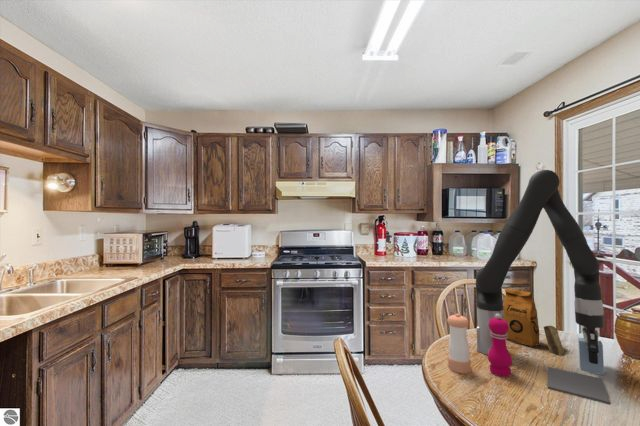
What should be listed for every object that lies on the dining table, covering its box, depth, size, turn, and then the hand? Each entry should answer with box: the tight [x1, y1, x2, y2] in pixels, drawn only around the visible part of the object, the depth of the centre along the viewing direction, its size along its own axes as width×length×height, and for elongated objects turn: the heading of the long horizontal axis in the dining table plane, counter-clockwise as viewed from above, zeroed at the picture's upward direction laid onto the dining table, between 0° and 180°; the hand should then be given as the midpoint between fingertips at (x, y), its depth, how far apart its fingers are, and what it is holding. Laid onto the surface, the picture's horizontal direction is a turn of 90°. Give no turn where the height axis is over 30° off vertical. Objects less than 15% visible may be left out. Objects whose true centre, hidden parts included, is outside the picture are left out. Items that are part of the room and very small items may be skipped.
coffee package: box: [503, 288, 540, 348], centre depth 130 cm, size 10×12×22 cm
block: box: [577, 336, 605, 376], centre depth 104 cm, size 6×4×10 cm, turn 52°
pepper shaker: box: [446, 313, 472, 374], centre depth 107 cm, size 7×7×19 cm
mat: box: [547, 366, 611, 405], centre depth 95 cm, size 14×16×1 cm
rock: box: [543, 325, 565, 357], centre depth 120 cm, size 11×9×10 cm
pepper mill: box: [487, 314, 513, 378], centre depth 103 cm, size 7×7×20 cm
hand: (592, 358), depth 104 cm, fingers open, 8 cm apart
